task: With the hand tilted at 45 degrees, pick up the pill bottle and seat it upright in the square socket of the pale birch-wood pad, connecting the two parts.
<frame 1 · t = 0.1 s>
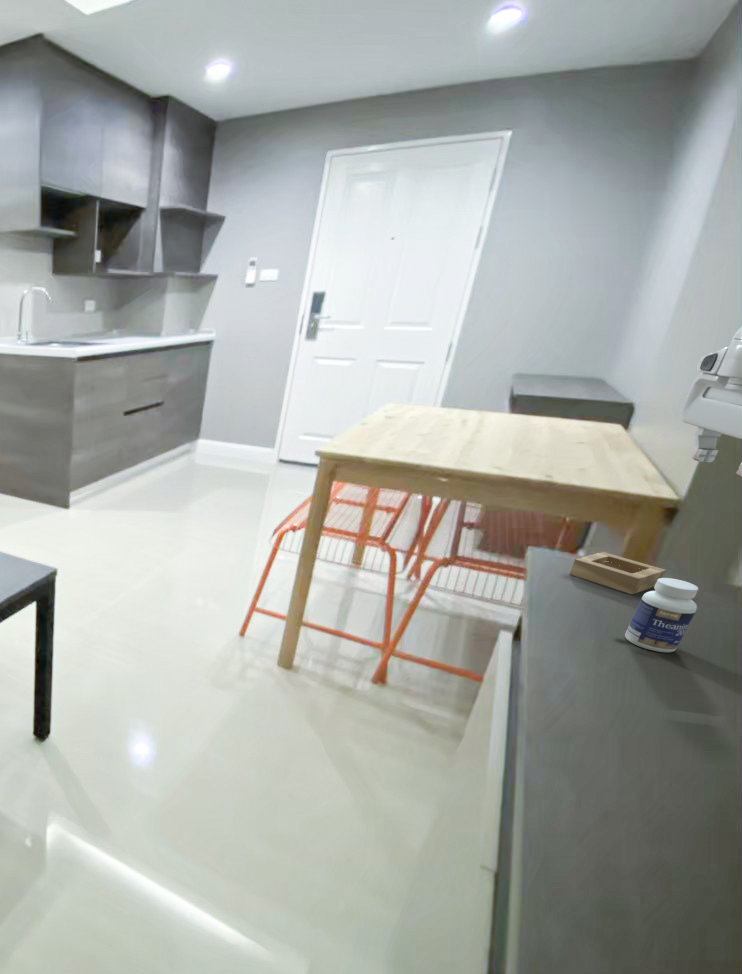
hand: (723, 469, 83), 25 cm above the cabinet, tool pointing down, fingers open, 8 cm apart
socket pad: (613, 579, 108), on the cabinet
pill bottle: (648, 645, 88), on the cabinet
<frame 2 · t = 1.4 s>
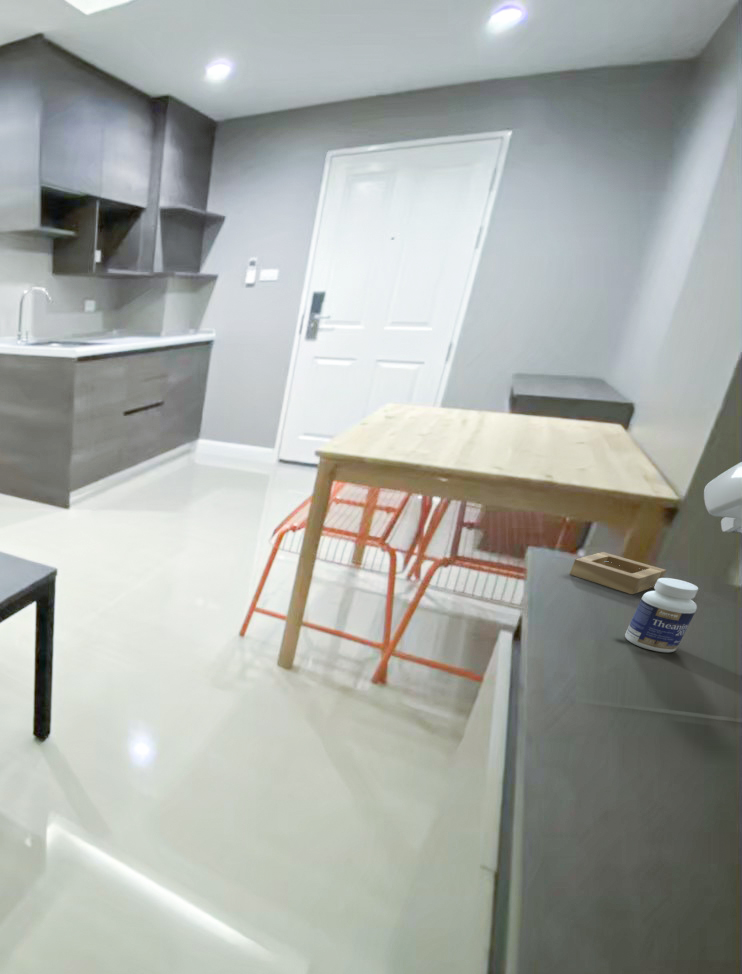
nothing on the cabinet moved.
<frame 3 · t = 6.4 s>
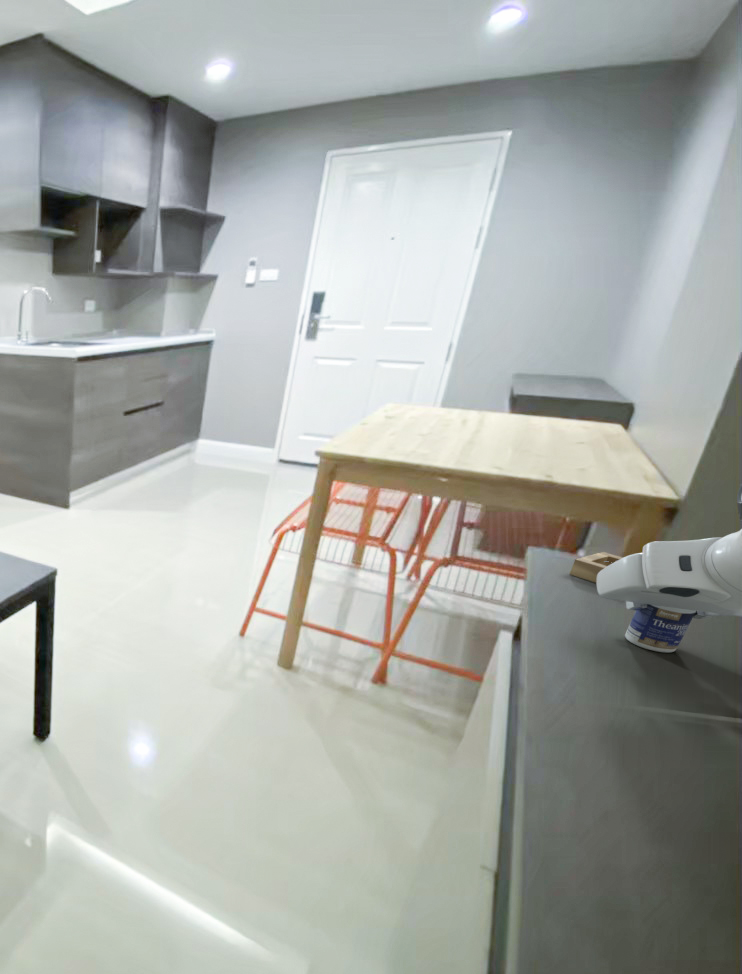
hand: (662, 609, 86), 5 cm above the cabinet, tool tilted 45°, fingers closed on pill bottle, 5 cm apart
pill bottle: (648, 645, 88), on the cabinet, touching gripper
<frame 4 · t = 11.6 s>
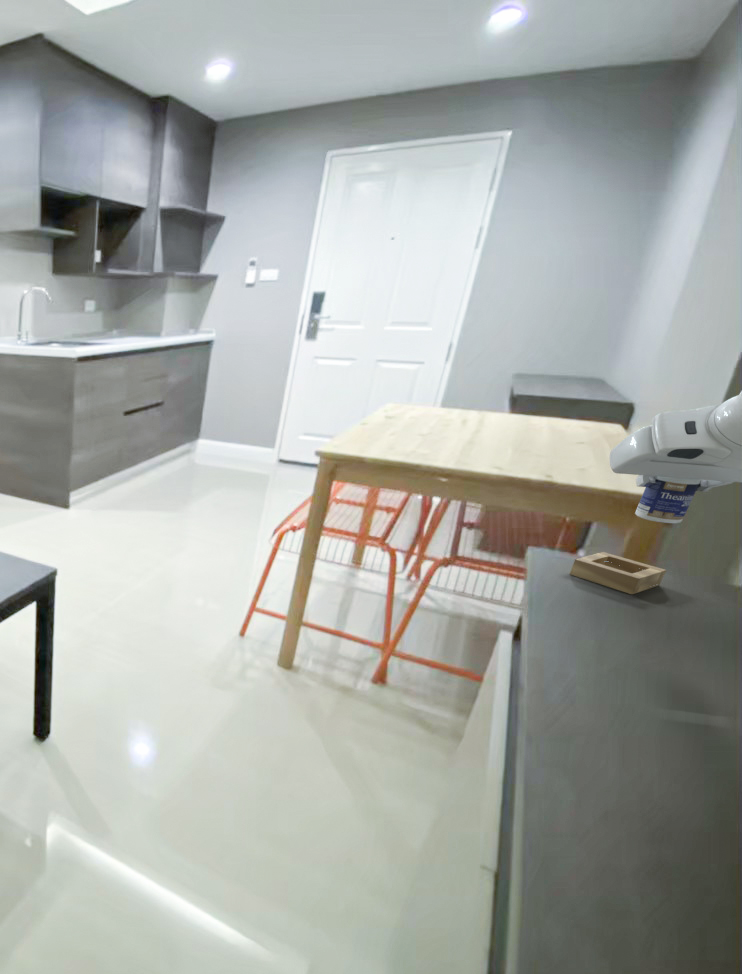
hand: (669, 485, 95), 19 cm above the cabinet, tool tilted 45°, fingers closed on pill bottle, 5 cm apart
pill bottle: (656, 519, 97), point 14 cm above the cabinet, touching gripper
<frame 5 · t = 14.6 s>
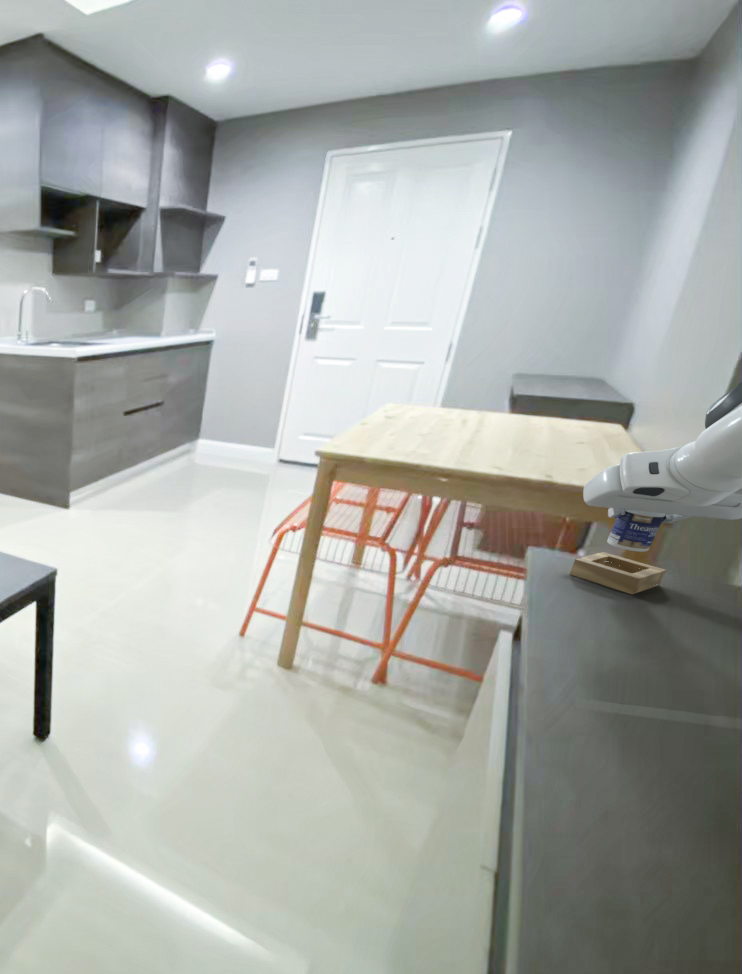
hand: (637, 516, 104), 12 cm above the cabinet, tool tilted 45°, fingers closed on pill bottle, 5 cm apart
pill bottle: (626, 547, 106), point 6 cm above the cabinet, touching gripper
when the fingers open (5 cm above the cabinet, at t = 17.0 s): pill bottle stays where it is, resting in socket pad.
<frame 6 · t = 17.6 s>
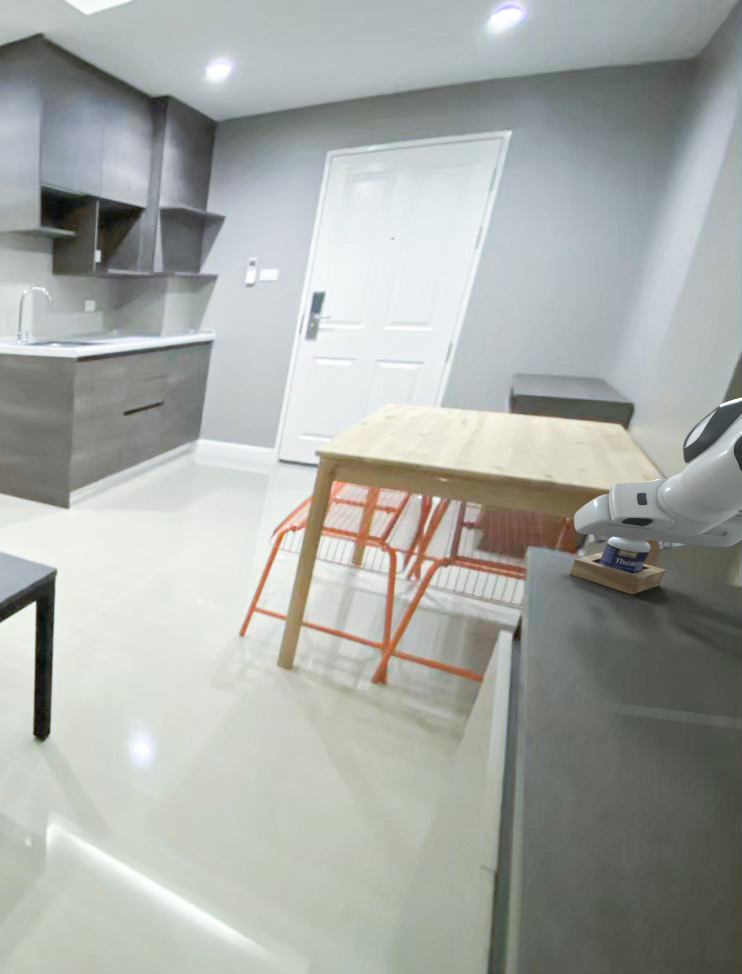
hand: (628, 543, 106), 7 cm above the cabinet, tool tilted 45°, fingers open, 8 cm apart
pill bottle: (613, 580, 108), resting in socket pad
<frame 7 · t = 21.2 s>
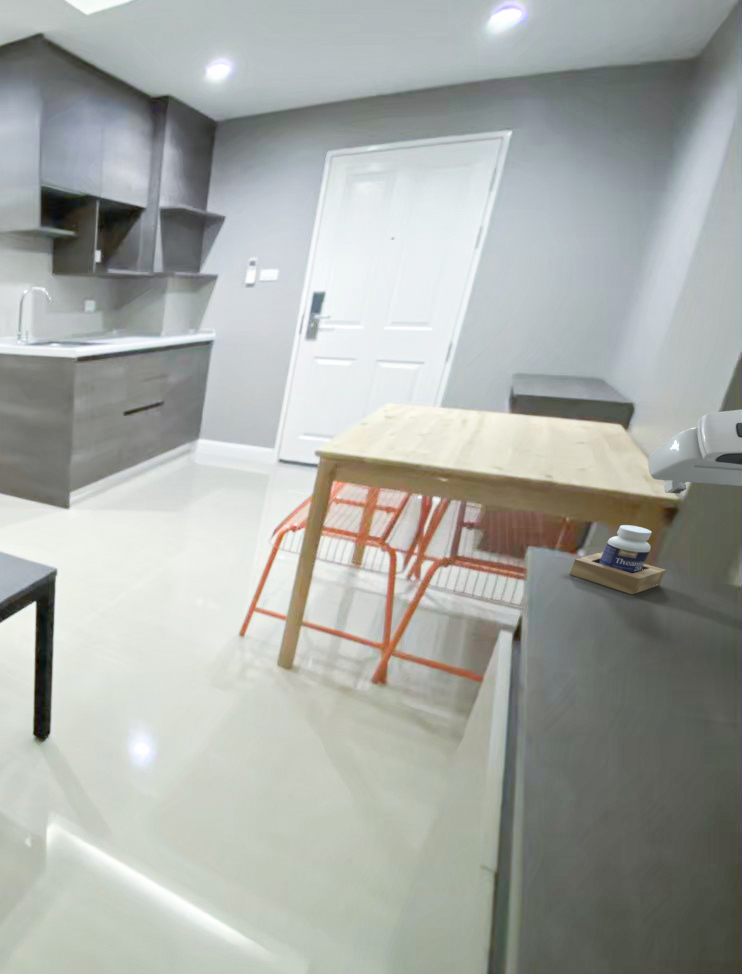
hand: (713, 492, 87), 21 cm above the cabinet, tool tilted 45°, fingers open, 8 cm apart
nothing on the cabinet moved.
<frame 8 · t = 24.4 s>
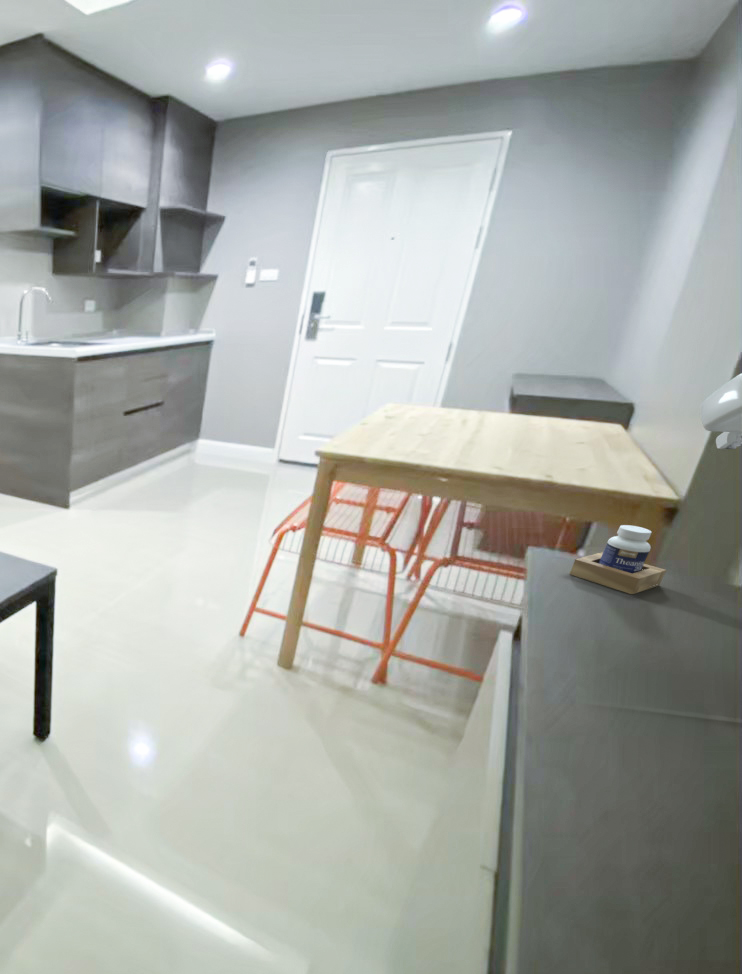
nothing on the cabinet moved.
at the end: pill bottle 0.1 cm off-centre in the socket pad, point 0.0 cm above the socket pad's base; pill bottle tilted 0°; the gripper is holding nothing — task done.
